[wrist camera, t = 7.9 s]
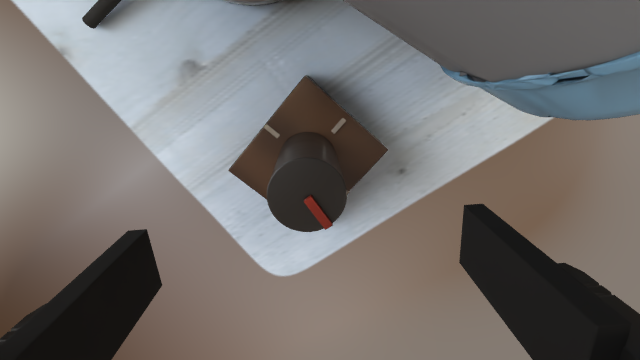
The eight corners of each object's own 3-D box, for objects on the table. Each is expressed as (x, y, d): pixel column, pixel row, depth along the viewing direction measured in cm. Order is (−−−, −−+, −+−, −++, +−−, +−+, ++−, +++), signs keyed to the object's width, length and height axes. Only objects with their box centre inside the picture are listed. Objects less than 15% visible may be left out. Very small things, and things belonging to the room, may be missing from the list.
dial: (267, 153, 27) (249, 188, 19) (315, 119, 26) (317, 142, 18) (301, 197, 28) (297, 248, 20) (347, 167, 27) (363, 207, 19)
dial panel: (310, 218, 32) (310, 233, 29) (235, 160, 30) (227, 171, 27) (381, 142, 30) (389, 150, 27) (305, 74, 28) (305, 75, 25)
